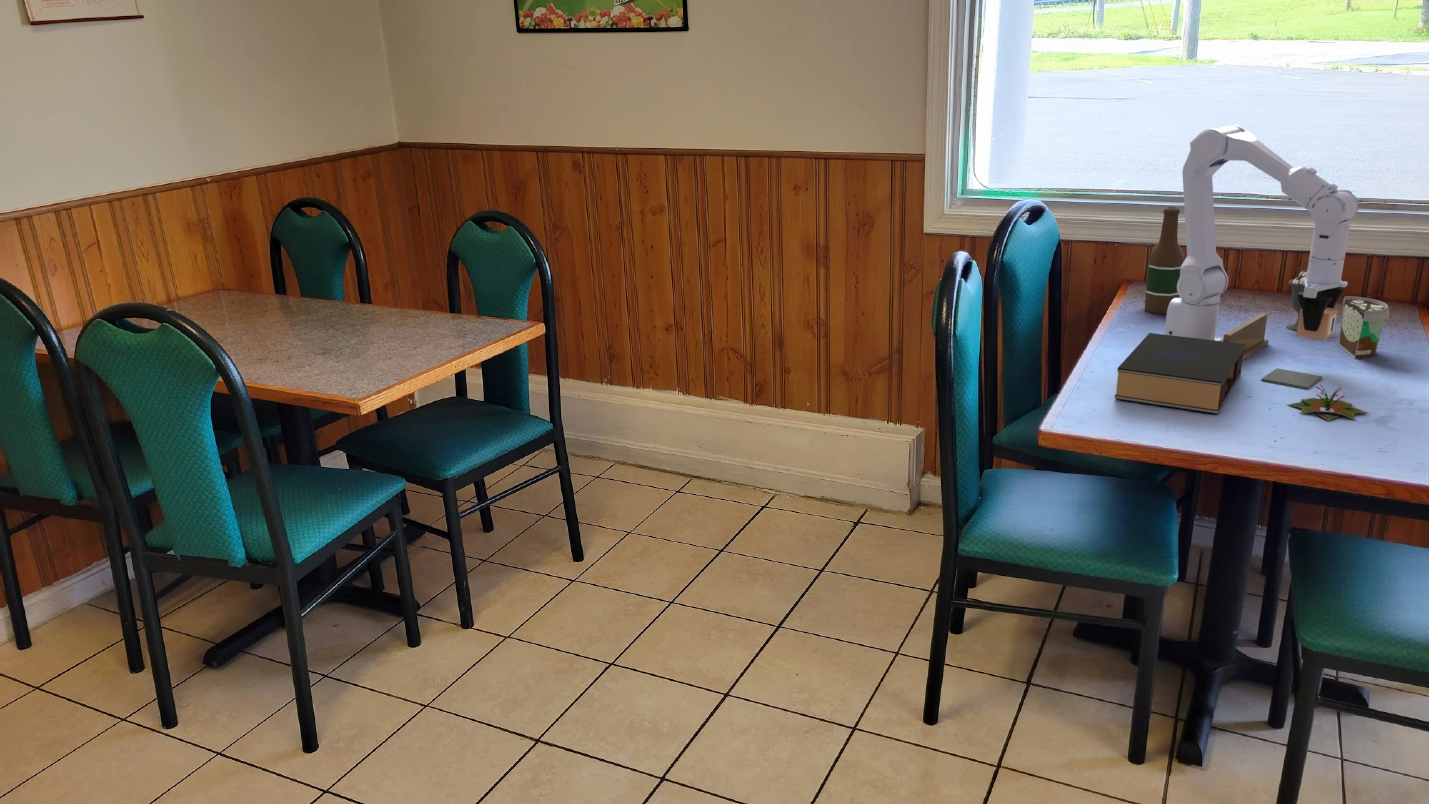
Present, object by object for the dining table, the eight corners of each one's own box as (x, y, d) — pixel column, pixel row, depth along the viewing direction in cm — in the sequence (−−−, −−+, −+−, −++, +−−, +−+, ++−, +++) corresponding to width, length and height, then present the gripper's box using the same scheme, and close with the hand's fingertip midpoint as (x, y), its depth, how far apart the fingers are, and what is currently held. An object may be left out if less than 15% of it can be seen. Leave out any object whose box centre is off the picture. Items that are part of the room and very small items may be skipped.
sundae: (1309, 334, 222) (1321, 264, 217) (1277, 328, 227) (1287, 260, 222) (1322, 327, 226) (1333, 259, 221) (1289, 322, 231) (1299, 255, 226)
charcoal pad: (1261, 380, 196) (1261, 378, 196) (1276, 370, 202) (1276, 368, 202) (1307, 389, 191) (1307, 387, 191) (1321, 378, 196) (1322, 376, 196)
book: (1241, 377, 200) (1245, 343, 198) (1217, 418, 181) (1222, 382, 178) (1145, 364, 209) (1149, 332, 207) (1113, 402, 190) (1117, 367, 188)
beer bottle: (1184, 314, 240) (1196, 209, 232) (1150, 315, 241) (1161, 211, 233) (1171, 305, 248) (1182, 204, 240) (1138, 306, 248) (1148, 205, 240)
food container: (1392, 361, 204) (1401, 311, 200) (1357, 360, 205) (1366, 311, 201) (1368, 343, 215) (1377, 295, 212) (1335, 342, 216) (1343, 295, 213)
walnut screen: (1215, 365, 206) (1219, 333, 204) (1252, 341, 219) (1256, 311, 217) (1230, 368, 204) (1235, 336, 202) (1267, 344, 217) (1272, 314, 215)
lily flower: (1327, 428, 174) (1331, 403, 173) (1271, 406, 185) (1275, 381, 184) (1384, 418, 177) (1388, 393, 176) (1326, 396, 188) (1330, 372, 187)
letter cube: (1296, 335, 201) (1300, 310, 199) (1305, 329, 204) (1308, 304, 202) (1326, 340, 197) (1331, 314, 195) (1335, 334, 200) (1339, 309, 199)
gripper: (1338, 266, 188) (1326, 339, 193) (1362, 252, 198) (1350, 322, 202) (1296, 262, 193) (1285, 332, 197) (1321, 248, 202) (1310, 316, 207)
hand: (1315, 327), depth 200 cm, fingers closed on letter cube, 5 cm apart
